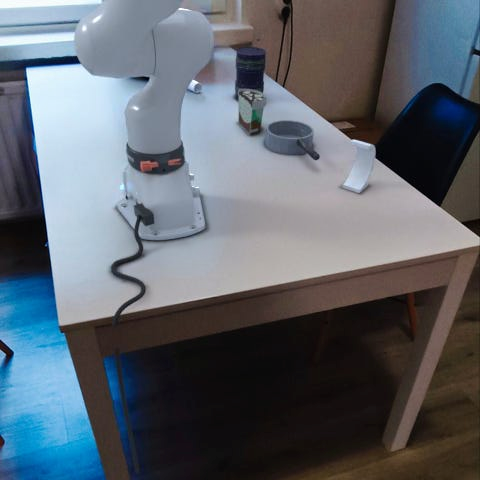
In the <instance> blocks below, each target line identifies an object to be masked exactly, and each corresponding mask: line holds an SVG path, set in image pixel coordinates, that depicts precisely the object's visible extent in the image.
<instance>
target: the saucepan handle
mask: <svg viewBox="0 0 480 480" xmlns="http://www.w3.org/2000/svg"><path fill="white" fill-rule="evenodd" d="M297 144H298V145H299V146H300V147H301V148H302V149H303V150H304V151H305V152H306V154H307V155H308V156H309V157H310V158H311V159H312V160H314V161H318V160H319V159H320V157H321V156H320V154H319V153H318V152H317V150H315V149H314V148H313V147H310V146H309V145H308V144H307V143H306V142H305V141H304V140H303V139H301V138H300V139H298V140H297Z"/></svg>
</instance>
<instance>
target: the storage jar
mask: <svg viewBox="0 0 480 480" xmlns="http://www.w3.org/2000/svg"><path fill="white" fill-rule="evenodd" d="M255 40H256V41H257V42H260V41H261V39H260V38H256V39H255ZM266 55H267V51H266V49H264V48H261V47H258V46H257V47H256V46H242V47H239V48H236V50H235V74H236V75H235V81H234V99H235V100H237V101H238V90H239V89H252V90H257V91H260V92H262V93H263V94H264V90H265V81H264V80H265V79H264V77H265V70H266V61H267V59H266V58H267V56H266Z"/></svg>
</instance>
